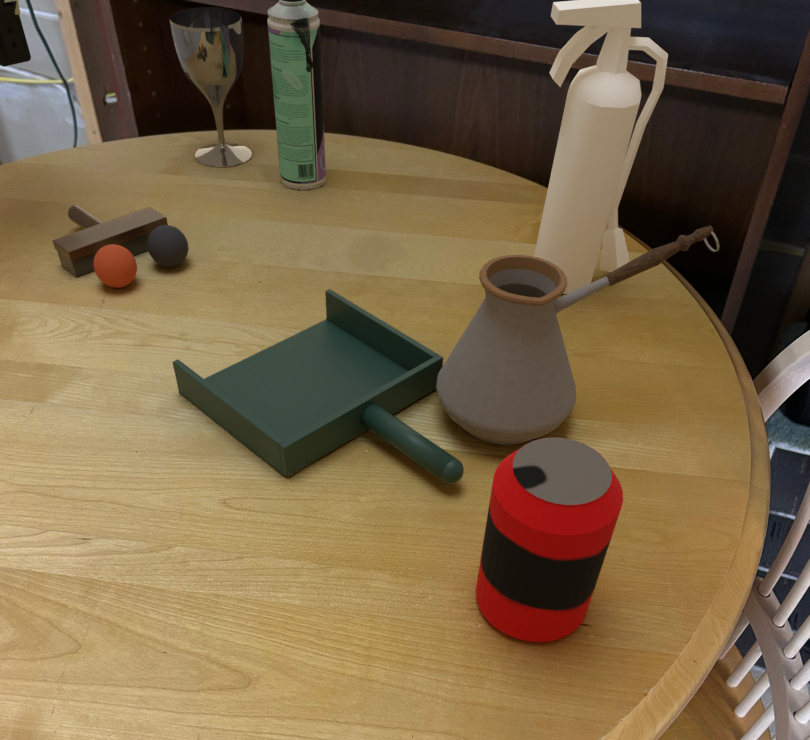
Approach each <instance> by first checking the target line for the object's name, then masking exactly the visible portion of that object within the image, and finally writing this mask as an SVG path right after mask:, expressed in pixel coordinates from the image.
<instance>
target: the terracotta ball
mask: <svg viewBox="0 0 810 740" xmlns="http://www.w3.org/2000/svg"><path fill="white" fill-rule="evenodd" d="M134 256H135V255H134ZM134 256H133V255H132V254H131V252H130V251H129V250H127V249H126V248H124V247H122V246H120V245H115V244H111V245H106V246H104V247H102V248H101V249H99V250H98V252H97V253H96V255H95V257H94V263H93V265H94V273H95V276H97V278H98V279H99V280H100V282H102V283H103V284H104V285H106V286H108V287H111V288H117V289H119V288H120V289H121V288H125V287H127V286H128V285H130V284H131V283H133V281H134V280H135V278H136V277H137V272H138V264H137V260H136V258H135V257H134Z"/></svg>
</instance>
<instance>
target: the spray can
mask: <svg viewBox="0 0 810 740" xmlns="http://www.w3.org/2000/svg"><path fill="white" fill-rule="evenodd" d="M267 16H268V17H267V29H268V30H267V34H268V45H269V57H270V69H271V81H272V92H273V94H272V95H273V105H274V117H275V127H276V142H277V154H278V162H279V163H278V165H279V177H280V182H281V184H282V185H283V186H284V187H286V188H289V189H292V188H293V189H292V190H298V189H300V190H299V191H307V190H308V189H309V190H314V189H317V188H320V187H321V185H322V186H324V184H326V181H327V169H326V167H327V165H326V145H325V144H326V143H325V141H326V140H325V116H324V94H323V92H324V91H323V69H322V67H323V66H322V43H321V21H320V20H321V19H320V17H319V10H318V9H317V8H315V7H314V6H312V5H311V4H310V3H308V2H307V0H278V2H277V3H276V4H274V5H273V6H271V7H269V9H268V10H267ZM309 190H308V191H309Z"/></svg>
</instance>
